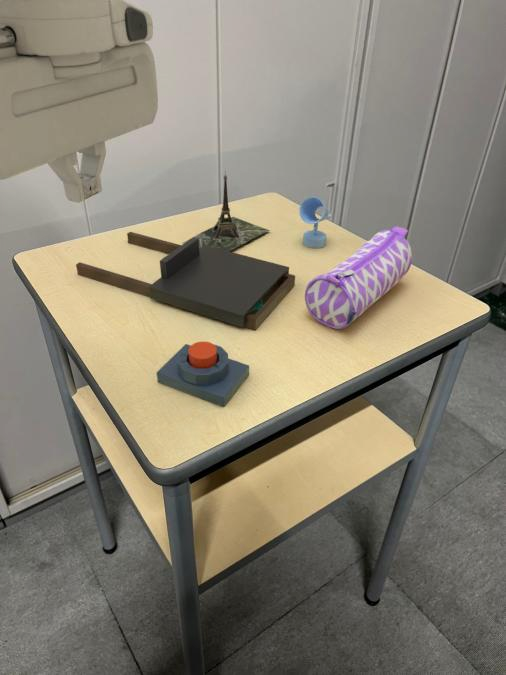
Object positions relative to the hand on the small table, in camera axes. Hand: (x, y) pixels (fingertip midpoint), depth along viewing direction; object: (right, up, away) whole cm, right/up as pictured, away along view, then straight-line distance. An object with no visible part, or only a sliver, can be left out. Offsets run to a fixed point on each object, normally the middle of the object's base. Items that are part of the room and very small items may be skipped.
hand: (84, 196), depth 48 cm
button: (+9, -16, +19) cm, 26 cm away
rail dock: (+4, -3, +41) cm, 42 cm away
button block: (+9, -18, +21) cm, 29 cm away
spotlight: (+27, +5, +54) cm, 61 cm away
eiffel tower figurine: (+10, +7, +55) cm, 56 cm away
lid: (+10, -5, +39) cm, 40 cm away
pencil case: (+33, -7, +37) cm, 50 cm away
